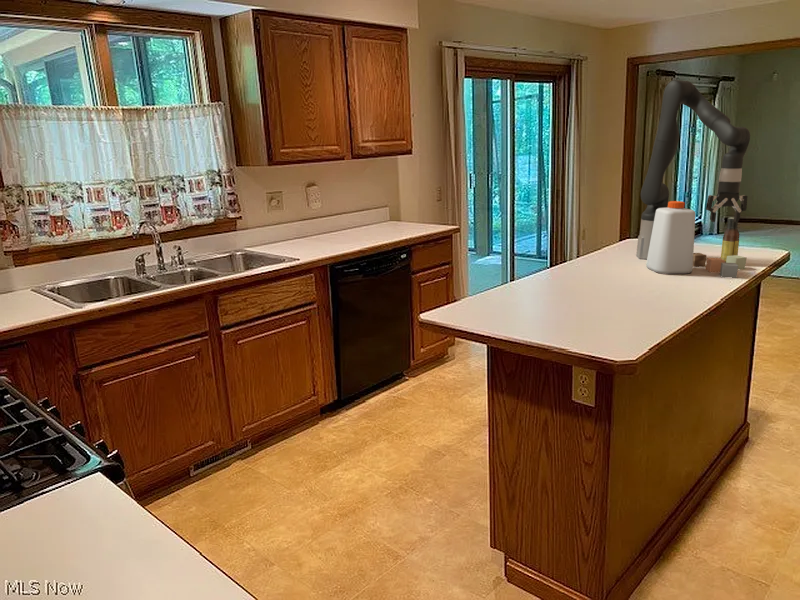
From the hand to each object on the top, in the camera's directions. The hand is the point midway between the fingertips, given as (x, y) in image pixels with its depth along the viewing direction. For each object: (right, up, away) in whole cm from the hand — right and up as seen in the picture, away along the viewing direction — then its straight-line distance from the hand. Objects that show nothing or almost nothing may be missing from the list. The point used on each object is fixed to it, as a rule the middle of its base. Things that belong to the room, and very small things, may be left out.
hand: (724, 221), depth 234 cm
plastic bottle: (-19, -19, +8) cm, 28 cm away
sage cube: (+10, -18, +10) cm, 23 cm away
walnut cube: (-3, -16, +16) cm, 23 cm away
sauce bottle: (+11, -16, +18) cm, 27 cm away
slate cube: (0, -22, -3) cm, 22 cm away
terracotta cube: (-1, -19, +6) cm, 20 cm away
